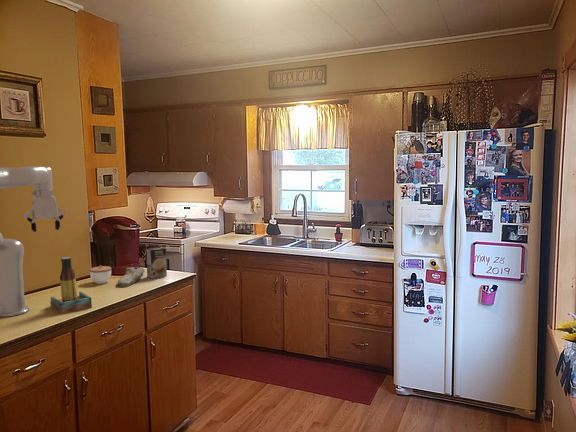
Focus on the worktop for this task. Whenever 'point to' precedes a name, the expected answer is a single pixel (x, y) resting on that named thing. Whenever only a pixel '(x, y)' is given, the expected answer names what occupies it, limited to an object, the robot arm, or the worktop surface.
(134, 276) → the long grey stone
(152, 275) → the coffee box
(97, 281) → the lidded jar
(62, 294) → the sauce bottle
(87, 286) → the worktop surface
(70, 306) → the dock
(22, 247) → the robot arm
